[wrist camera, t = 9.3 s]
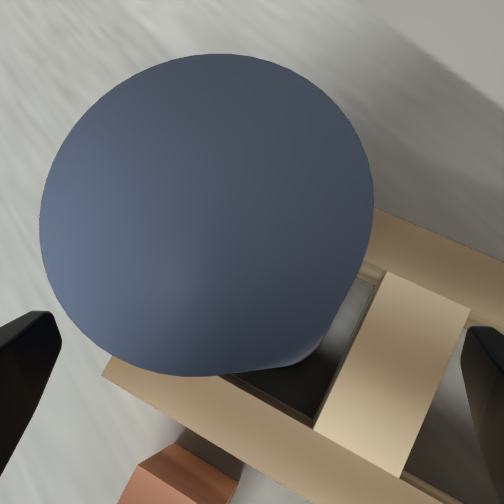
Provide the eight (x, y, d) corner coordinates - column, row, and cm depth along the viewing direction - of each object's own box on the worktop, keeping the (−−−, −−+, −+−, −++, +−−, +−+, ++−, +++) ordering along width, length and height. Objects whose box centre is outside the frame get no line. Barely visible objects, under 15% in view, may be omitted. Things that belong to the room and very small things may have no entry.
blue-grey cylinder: (285, 387, 18) (212, 461, 4) (213, 324, 19) (-24, 227, 5) (346, 311, 18) (447, 170, 5) (273, 253, 19) (189, 2, 6)
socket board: (520, 773, 14) (600, 928, 10) (77, 473, 18) (15, 503, 14) (660, 361, 16) (768, 360, 13) (241, 176, 20) (225, 133, 17)
